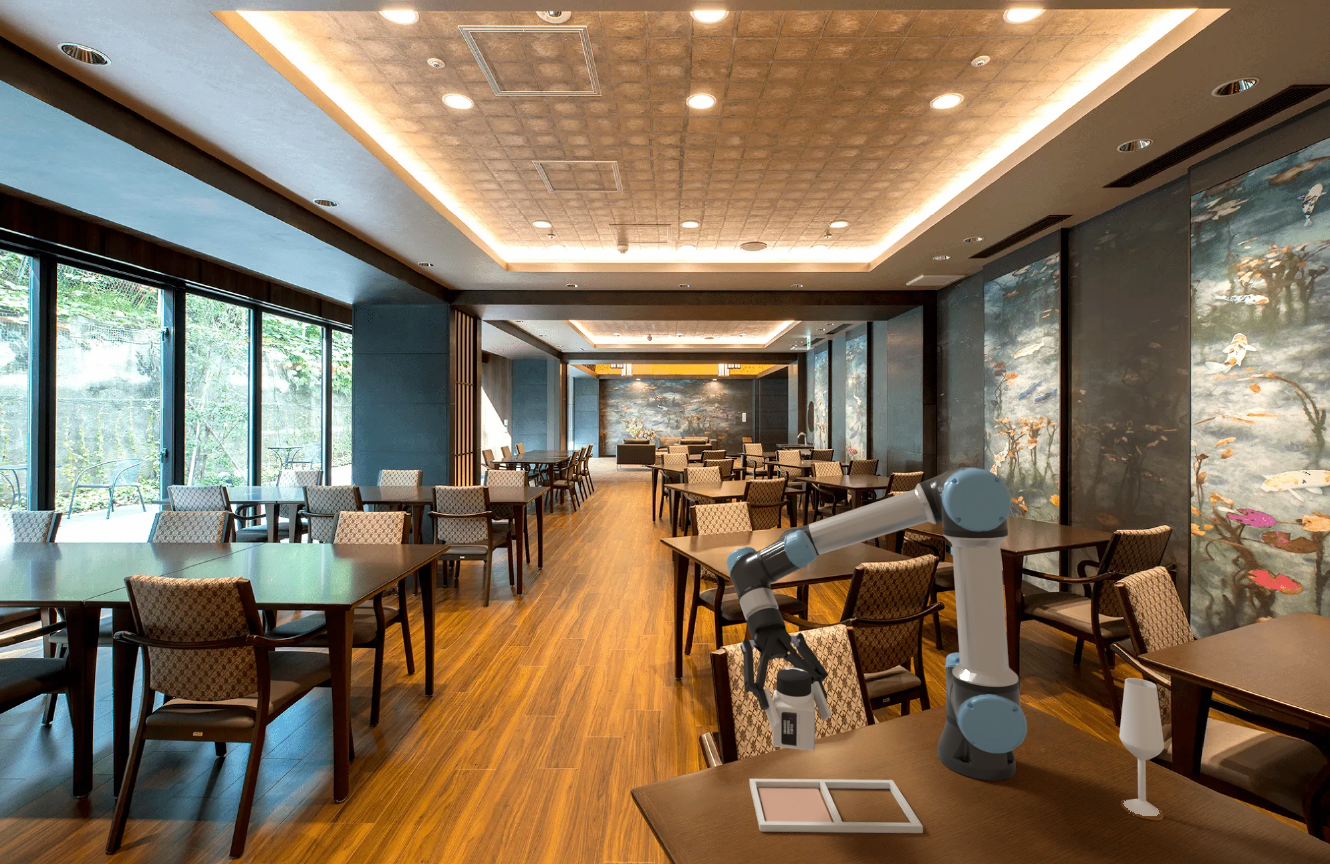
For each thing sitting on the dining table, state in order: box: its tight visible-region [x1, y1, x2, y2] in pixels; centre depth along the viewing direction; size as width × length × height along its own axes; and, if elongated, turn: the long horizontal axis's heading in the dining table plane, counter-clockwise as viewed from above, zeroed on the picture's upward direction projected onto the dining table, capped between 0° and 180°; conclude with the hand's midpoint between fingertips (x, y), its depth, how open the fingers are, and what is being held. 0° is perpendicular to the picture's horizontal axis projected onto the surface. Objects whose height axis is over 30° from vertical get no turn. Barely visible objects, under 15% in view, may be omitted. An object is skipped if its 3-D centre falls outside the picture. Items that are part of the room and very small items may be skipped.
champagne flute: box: [1119, 677, 1165, 816], centre depth 116 cm, size 7×7×24 cm
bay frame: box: [749, 778, 924, 834], centre depth 116 cm, size 29×15×1 cm, turn 89°
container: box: [771, 667, 816, 752], centre depth 117 cm, size 8×8×13 cm
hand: (802, 721), depth 114 cm, fingers closed on container, 10 cm apart
